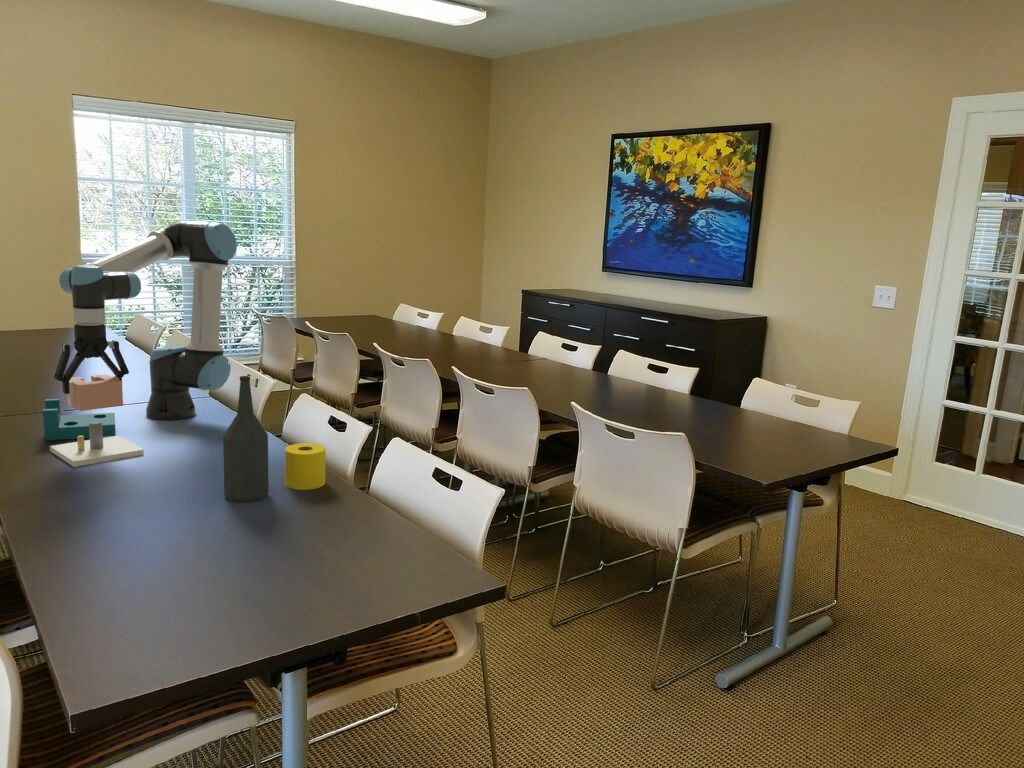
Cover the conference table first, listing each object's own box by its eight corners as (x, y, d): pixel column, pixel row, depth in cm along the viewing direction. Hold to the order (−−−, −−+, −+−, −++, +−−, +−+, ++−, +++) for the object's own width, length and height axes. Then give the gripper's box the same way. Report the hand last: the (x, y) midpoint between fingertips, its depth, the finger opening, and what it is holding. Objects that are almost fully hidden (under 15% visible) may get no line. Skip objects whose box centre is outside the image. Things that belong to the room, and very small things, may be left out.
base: (117, 440, 227) (116, 412, 225) (143, 454, 215) (142, 425, 213) (50, 451, 213) (48, 421, 212) (74, 466, 202) (72, 435, 200)
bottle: (227, 504, 182) (224, 381, 176) (221, 491, 190) (219, 373, 184) (272, 500, 186) (271, 379, 180) (264, 487, 195) (263, 371, 189)
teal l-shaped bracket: (45, 445, 221) (42, 410, 218) (47, 432, 230) (45, 399, 227) (115, 440, 229) (113, 407, 226) (115, 428, 238) (113, 396, 235)
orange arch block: (123, 405, 212) (122, 380, 210) (80, 411, 204) (78, 385, 202) (107, 398, 219) (106, 374, 218) (65, 403, 211) (63, 378, 210)
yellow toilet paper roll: (332, 480, 202) (332, 446, 201) (310, 492, 193) (311, 456, 191) (300, 475, 206) (300, 441, 204) (277, 486, 196) (277, 450, 194)
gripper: (129, 319, 218) (132, 394, 222) (36, 323, 201) (41, 405, 205) (140, 322, 213) (143, 399, 217) (46, 327, 196) (51, 410, 200)
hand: (94, 402), depth 211 cm, fingers closed on orange arch block, 11 cm apart
